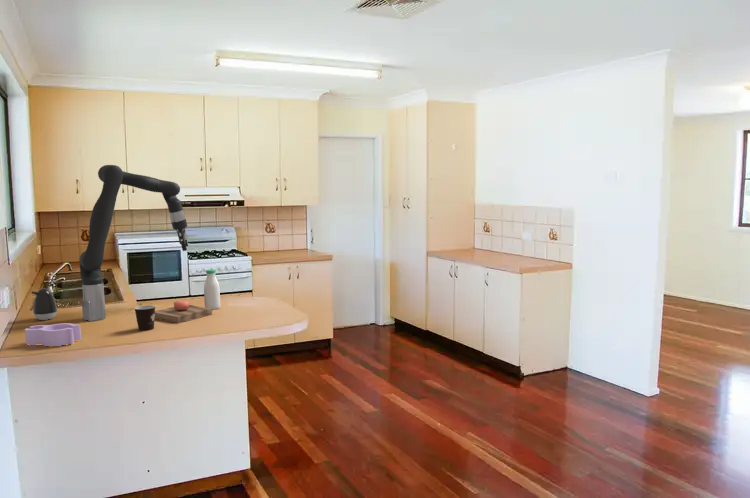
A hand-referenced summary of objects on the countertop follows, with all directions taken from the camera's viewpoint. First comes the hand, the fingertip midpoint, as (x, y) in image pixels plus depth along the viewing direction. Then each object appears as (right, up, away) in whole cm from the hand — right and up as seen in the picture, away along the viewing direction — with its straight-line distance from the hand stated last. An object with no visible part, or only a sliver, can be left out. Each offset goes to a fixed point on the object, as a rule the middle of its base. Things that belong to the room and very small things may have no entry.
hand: (185, 248), depth 325 cm
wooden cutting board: (+7, -33, -28) cm, 44 cm away
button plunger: (+7, -29, -28) cm, 41 cm away
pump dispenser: (-59, -35, -29) cm, 74 cm away
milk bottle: (+17, -31, -11) cm, 37 cm away
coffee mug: (-1, -36, -50) cm, 62 cm away
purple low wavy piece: (-33, -40, -72) cm, 88 cm away
